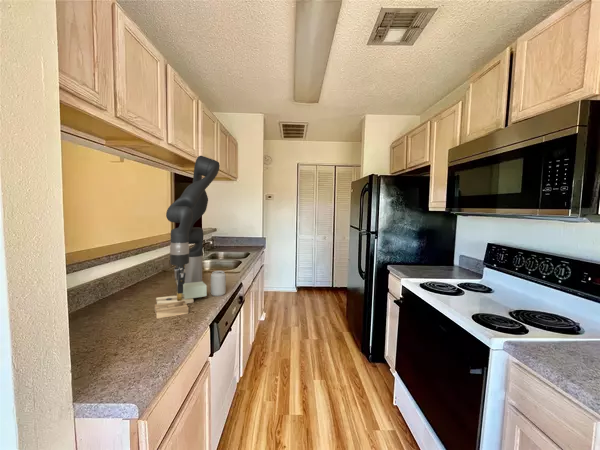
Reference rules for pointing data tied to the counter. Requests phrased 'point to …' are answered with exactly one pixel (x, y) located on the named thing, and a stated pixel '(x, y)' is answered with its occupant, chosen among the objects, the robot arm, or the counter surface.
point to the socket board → (171, 309)
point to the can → (218, 283)
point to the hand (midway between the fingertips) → (179, 292)
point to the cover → (194, 290)
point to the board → (172, 299)
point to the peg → (179, 296)
